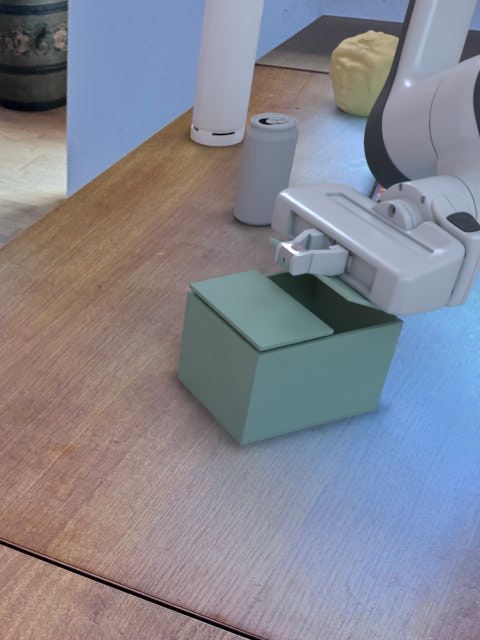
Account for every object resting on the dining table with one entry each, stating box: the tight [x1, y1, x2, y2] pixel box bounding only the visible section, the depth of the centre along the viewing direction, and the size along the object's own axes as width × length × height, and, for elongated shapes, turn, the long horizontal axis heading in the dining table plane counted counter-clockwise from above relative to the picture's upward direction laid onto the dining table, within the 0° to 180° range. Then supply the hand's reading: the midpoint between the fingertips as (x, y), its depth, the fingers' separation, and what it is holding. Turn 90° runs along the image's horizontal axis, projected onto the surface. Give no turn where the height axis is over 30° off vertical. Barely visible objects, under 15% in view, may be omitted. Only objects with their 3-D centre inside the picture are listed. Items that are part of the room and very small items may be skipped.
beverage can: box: [232, 112, 300, 227], centre depth 115 cm, size 6×6×12 cm
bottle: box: [189, 0, 265, 147], centre depth 129 cm, size 8×8×28 cm
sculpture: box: [328, 29, 399, 118], centre depth 142 cm, size 12×12×11 cm
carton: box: [176, 268, 405, 446], centre depth 88 cm, size 15×13×10 cm
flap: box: [267, 236, 405, 317], centre depth 84 cm, size 7×13×1 cm, turn 21°
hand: (283, 260), depth 81 cm, fingers closed
